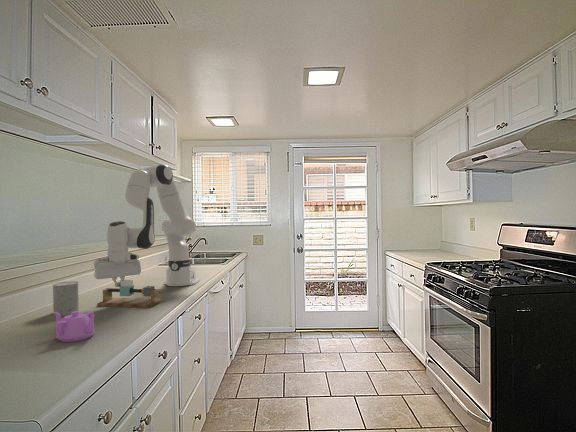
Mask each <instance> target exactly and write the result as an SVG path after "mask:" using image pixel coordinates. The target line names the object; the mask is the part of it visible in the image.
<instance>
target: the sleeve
mask: <svg viewBox="0 0 576 432" xmlns="http://www.w3.org/2000/svg"><path fill="white" fill-rule="evenodd" d="M119 282H120V283H121V286H120V287H119V289H120V292H119V297H131V296H133V295H135V293H134V292H130V289H135V285H134V280H132V279H124V280H122V281H120V280H119Z"/></svg>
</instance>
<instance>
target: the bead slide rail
mask: <svg viewBox="0 0 576 432" xmlns="http://www.w3.org/2000/svg"><path fill="white" fill-rule="evenodd" d="M105 289H108V291H109V292H112V293H120V288H116V287H115V288H113V287H112V288H111V287H107V288H105ZM152 290H156V288H155V285H153V286H152V285H147V286H145V287H142V288H134V289H130V292H134V294H136V293H138V294H139V293H141V294H142V295H143V296H144V297H151V291H152Z"/></svg>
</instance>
